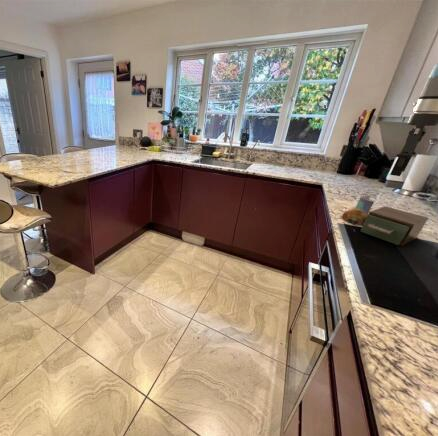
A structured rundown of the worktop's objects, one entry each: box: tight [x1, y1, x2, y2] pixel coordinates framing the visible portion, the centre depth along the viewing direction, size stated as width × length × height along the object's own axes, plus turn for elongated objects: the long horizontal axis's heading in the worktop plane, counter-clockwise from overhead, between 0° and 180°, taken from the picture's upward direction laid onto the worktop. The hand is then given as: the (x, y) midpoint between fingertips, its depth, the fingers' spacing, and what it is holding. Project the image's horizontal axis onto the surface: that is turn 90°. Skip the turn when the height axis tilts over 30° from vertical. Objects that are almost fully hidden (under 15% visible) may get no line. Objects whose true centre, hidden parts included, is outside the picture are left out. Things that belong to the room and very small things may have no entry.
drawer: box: [359, 215, 410, 246], centre depth 96 cm, size 20×13×8 cm, turn 118°
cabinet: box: [365, 206, 429, 247], centre depth 99 cm, size 16×14×10 cm
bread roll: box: [341, 207, 369, 226], centre depth 112 cm, size 10×10×8 cm
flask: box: [354, 194, 375, 214], centre depth 120 cm, size 9×3×11 cm, turn 164°
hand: (397, 173), depth 90 cm, fingers open, 13 cm apart
